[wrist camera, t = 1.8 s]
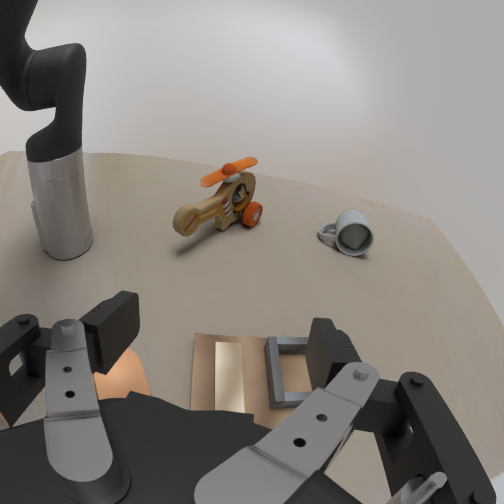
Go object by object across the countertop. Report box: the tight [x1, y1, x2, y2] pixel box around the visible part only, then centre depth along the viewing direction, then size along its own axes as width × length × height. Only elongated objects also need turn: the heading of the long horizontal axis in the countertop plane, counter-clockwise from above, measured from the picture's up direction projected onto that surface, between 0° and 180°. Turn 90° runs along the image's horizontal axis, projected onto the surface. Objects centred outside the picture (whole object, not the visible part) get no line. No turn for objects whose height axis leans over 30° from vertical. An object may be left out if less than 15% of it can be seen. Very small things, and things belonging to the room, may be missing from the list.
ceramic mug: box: [318, 209, 374, 256], centre depth 55 cm, size 11×8×8 cm
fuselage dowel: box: [93, 348, 152, 400], centre depth 20 cm, size 5×5×12 cm
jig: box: [190, 333, 312, 430], centre depth 29 cm, size 17×12×4 cm
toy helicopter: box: [173, 157, 262, 236], centre depth 48 cm, size 8×21×14 cm, turn 147°
